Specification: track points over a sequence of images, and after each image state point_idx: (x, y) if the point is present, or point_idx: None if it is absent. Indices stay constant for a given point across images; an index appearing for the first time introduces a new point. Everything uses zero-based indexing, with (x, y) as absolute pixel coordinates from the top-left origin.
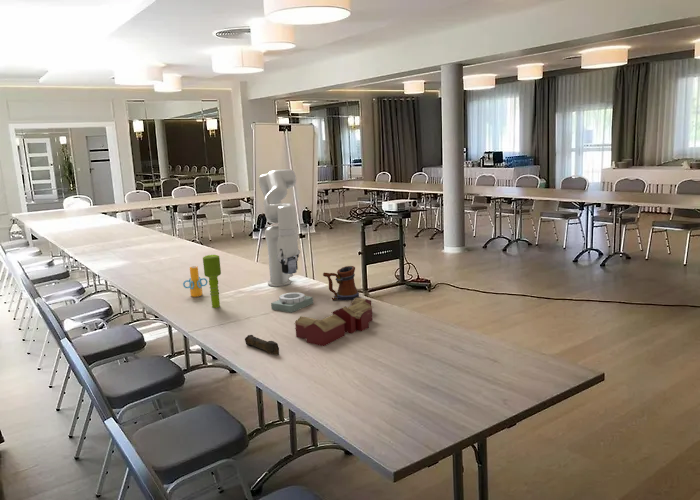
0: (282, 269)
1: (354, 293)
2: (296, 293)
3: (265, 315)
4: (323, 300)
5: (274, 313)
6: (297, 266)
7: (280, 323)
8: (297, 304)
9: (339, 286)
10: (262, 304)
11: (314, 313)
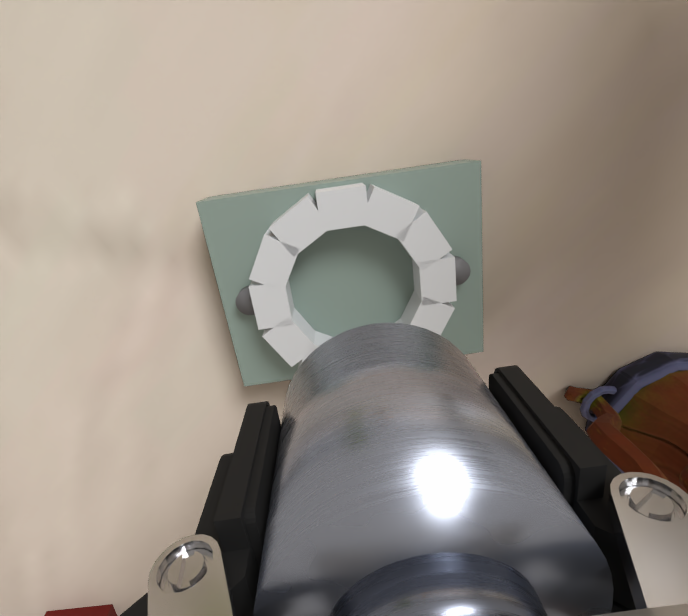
0: (219, 469)
1: None
2: (427, 272)
3: (99, 273)
4: (545, 341)
5: (168, 289)
6: None
7: (89, 451)
8: None
9: (684, 438)
10: (241, 6)
11: None
